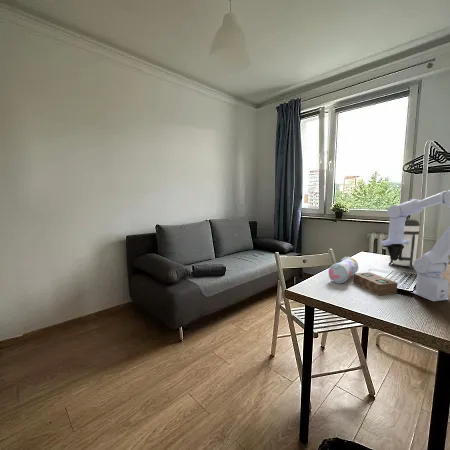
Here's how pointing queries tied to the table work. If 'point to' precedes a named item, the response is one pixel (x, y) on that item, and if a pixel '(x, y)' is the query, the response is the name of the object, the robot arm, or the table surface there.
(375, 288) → the socket block
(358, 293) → the table surface
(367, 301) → the table surface
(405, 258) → the coffee press
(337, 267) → the pencil case
